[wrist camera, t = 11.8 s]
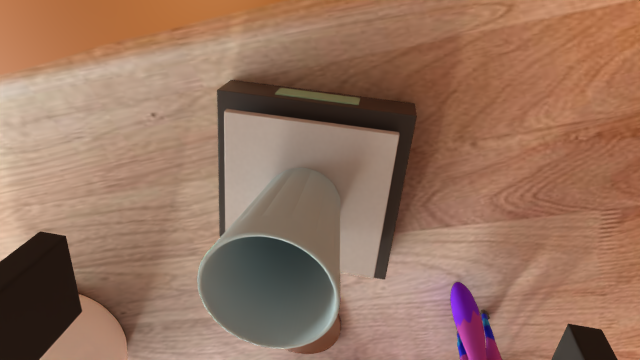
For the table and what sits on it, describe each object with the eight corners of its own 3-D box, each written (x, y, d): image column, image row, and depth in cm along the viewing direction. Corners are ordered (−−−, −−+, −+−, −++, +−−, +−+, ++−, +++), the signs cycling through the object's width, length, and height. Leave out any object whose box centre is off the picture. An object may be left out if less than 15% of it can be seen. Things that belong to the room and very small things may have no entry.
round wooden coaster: (341, 292, 41) (339, 303, 40) (340, 355, 45) (339, 367, 43) (257, 284, 42) (253, 295, 41) (263, 346, 46) (259, 358, 45)
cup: (379, 207, 32) (370, 307, 23) (305, 261, 35) (271, 369, 26) (304, 131, 30) (262, 205, 21) (233, 196, 33) (170, 285, 24)
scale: (231, 78, 34) (209, 93, 30) (415, 102, 33) (417, 121, 29) (231, 232, 40) (213, 261, 36) (385, 258, 39) (384, 291, 35)
